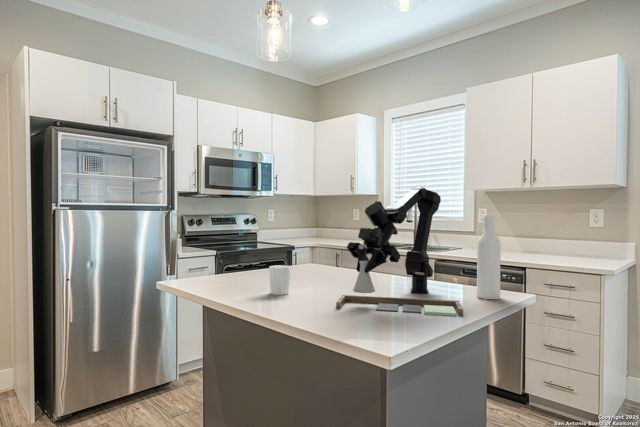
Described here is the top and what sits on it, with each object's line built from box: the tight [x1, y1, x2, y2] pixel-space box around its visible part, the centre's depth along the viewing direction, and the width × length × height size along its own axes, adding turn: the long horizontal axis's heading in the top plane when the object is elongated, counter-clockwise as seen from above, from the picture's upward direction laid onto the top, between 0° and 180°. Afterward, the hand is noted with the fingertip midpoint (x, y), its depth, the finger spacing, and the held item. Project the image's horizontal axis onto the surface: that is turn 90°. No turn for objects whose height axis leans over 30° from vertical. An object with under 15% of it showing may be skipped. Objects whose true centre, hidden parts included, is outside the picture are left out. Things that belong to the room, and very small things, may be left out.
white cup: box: [268, 264, 291, 296], centre depth 154 cm, size 8×8×10 cm
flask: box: [352, 261, 376, 294], centre depth 134 cm, size 7×7×10 cm
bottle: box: [476, 213, 501, 300], centre depth 148 cm, size 8×8×30 cm
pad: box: [423, 305, 457, 317], centre depth 127 cm, size 9×9×1 cm
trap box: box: [335, 294, 464, 317], centre depth 132 cm, size 12×38×2 cm, turn 77°
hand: (361, 271), depth 133 cm, fingers closed on flask, 3 cm apart
